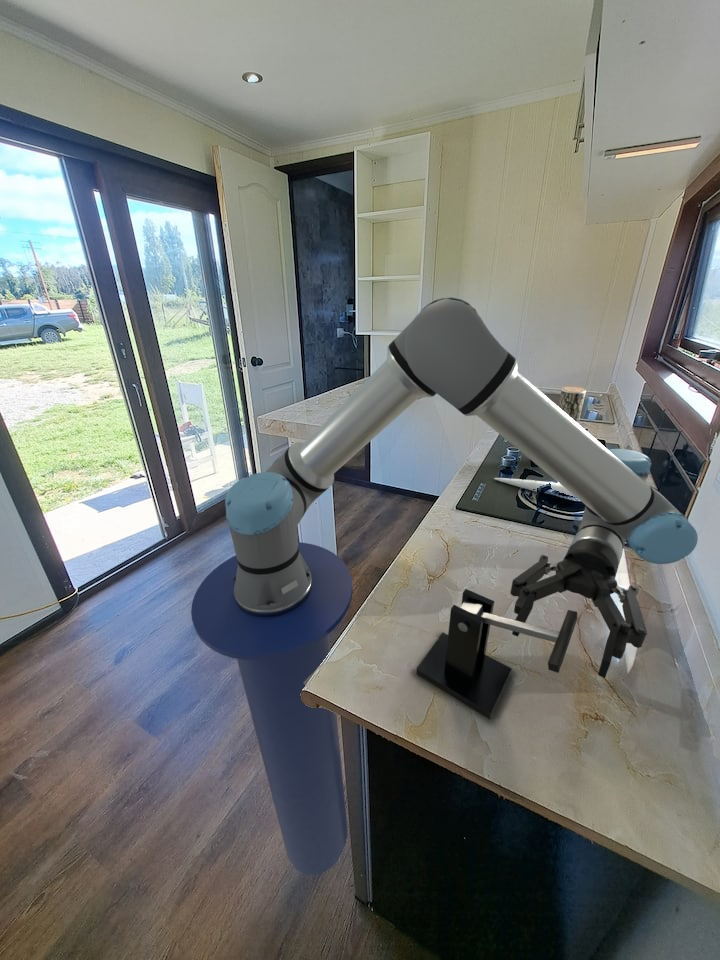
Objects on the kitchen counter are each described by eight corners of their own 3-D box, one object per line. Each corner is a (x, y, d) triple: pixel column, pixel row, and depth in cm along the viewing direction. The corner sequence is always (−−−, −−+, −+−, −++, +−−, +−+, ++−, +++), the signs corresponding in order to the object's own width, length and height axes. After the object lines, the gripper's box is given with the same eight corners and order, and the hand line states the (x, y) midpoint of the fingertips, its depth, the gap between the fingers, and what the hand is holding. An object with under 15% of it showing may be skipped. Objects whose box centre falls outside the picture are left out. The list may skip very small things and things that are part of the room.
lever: (577, 622, 51) (576, 607, 50) (559, 677, 44) (557, 661, 43) (477, 598, 60) (475, 585, 59) (448, 641, 53) (445, 626, 52)
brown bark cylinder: (557, 456, 135) (573, 385, 123) (573, 464, 129) (591, 390, 118) (542, 460, 133) (556, 388, 121) (557, 467, 127) (574, 392, 116)
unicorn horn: (498, 475, 123) (500, 462, 121) (579, 498, 109) (583, 483, 106) (492, 481, 120) (494, 467, 117) (574, 505, 105) (578, 490, 103)
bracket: (510, 673, 61) (526, 604, 54) (489, 719, 54) (504, 647, 48) (442, 637, 67) (448, 571, 61) (416, 674, 61) (419, 605, 54)
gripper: (667, 603, 60) (655, 718, 44) (521, 552, 72) (472, 627, 57) (683, 565, 56) (676, 675, 41) (527, 519, 69) (477, 589, 54)
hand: (557, 647), depth 49 cm, fingers open, 10 cm apart
